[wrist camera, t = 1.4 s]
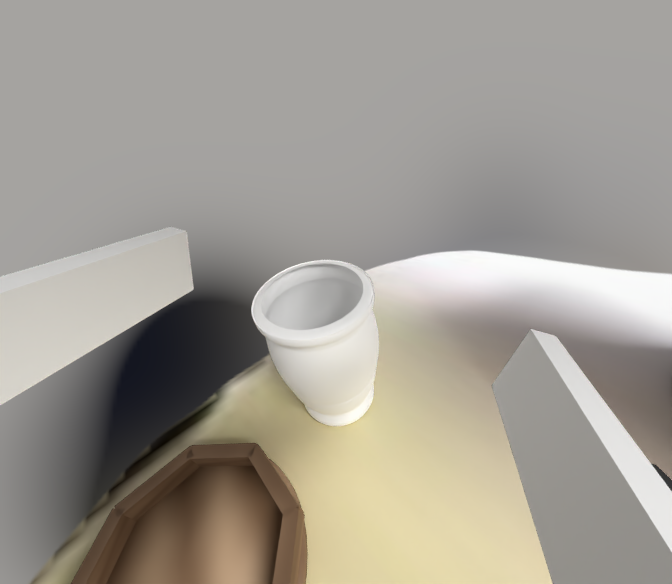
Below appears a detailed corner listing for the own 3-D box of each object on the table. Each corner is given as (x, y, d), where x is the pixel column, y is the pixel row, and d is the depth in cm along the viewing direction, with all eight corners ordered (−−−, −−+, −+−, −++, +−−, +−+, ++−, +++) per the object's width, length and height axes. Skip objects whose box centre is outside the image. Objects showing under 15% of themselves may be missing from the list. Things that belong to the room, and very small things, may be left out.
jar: (285, 376, 34) (241, 282, 25) (356, 343, 36) (340, 247, 27) (313, 458, 26) (264, 363, 17) (402, 408, 28) (401, 303, 19)
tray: (246, 417, 30) (236, 404, 28) (354, 576, 19) (349, 570, 17) (65, 567, 22) (37, 562, 20) (71, 992, 11) (11, 1058, 9)
